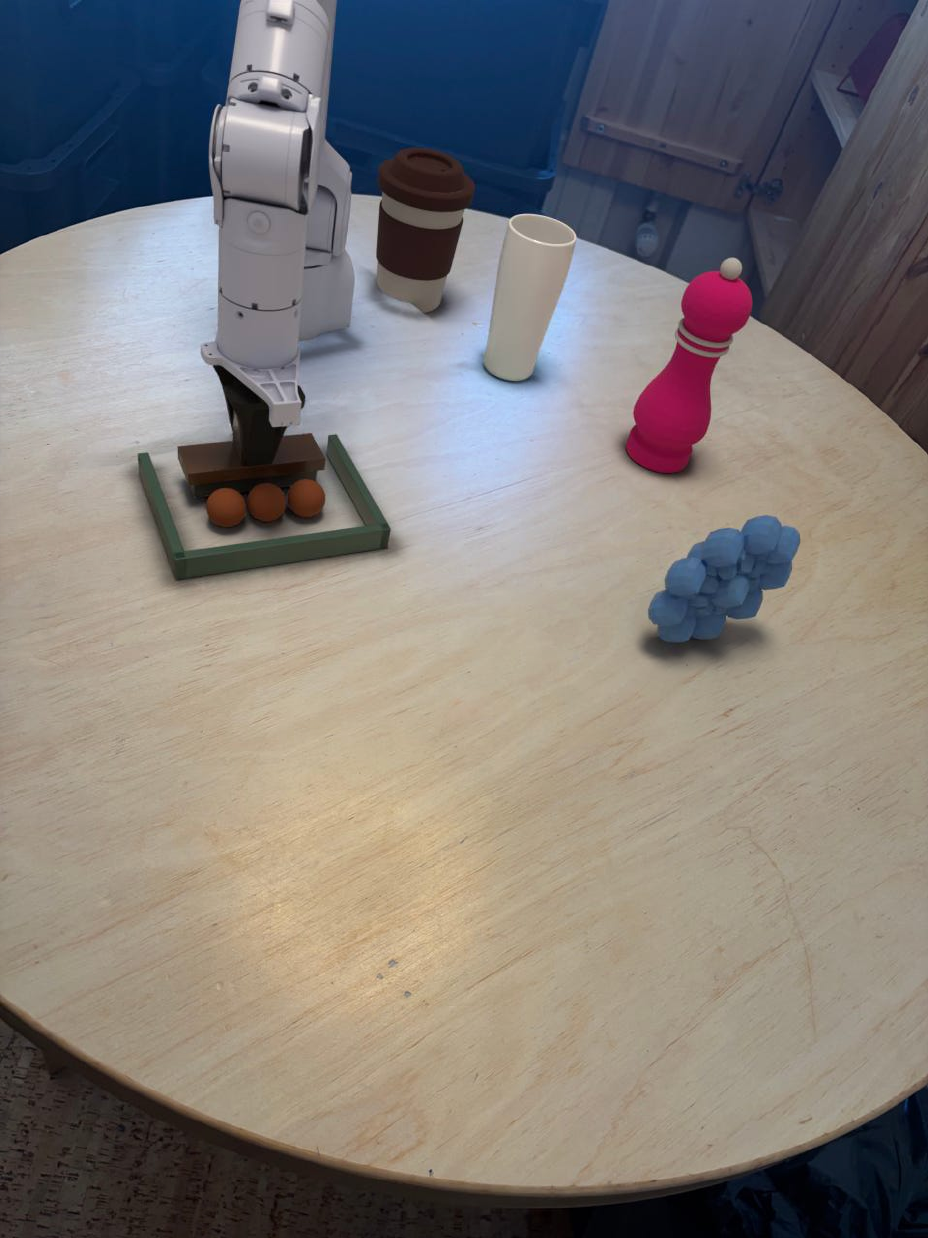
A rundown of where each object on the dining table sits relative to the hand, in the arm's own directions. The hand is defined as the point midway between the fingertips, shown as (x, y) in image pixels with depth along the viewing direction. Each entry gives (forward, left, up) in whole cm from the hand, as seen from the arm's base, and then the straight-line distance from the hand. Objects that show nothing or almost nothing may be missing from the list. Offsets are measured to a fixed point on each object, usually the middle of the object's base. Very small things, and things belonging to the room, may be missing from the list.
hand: (253, 450), depth 76 cm
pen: (+1, +3, -3) cm, 5 cm away
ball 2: (-2, +5, -2) cm, 6 cm away
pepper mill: (-38, +13, -4) cm, 40 cm away
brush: (0, 0, -3) cm, 3 cm away
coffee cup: (-33, -21, -4) cm, 39 cm away
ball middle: (+1, +4, -2) cm, 5 cm away
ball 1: (+4, +3, -2) cm, 6 cm away
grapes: (-22, +31, -4) cm, 38 cm away
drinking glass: (-34, -5, -4) cm, 34 cm away
